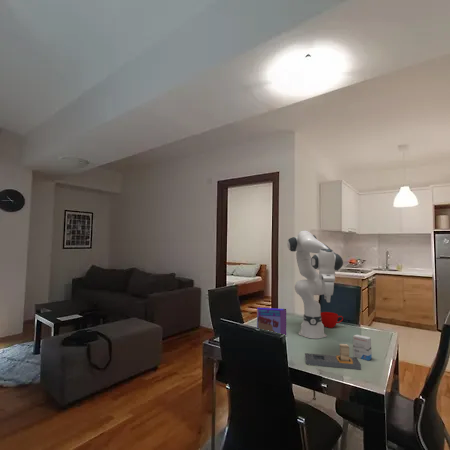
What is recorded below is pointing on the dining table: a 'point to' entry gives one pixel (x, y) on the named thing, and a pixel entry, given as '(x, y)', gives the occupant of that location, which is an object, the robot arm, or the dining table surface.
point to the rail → (332, 361)
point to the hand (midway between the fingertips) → (327, 300)
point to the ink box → (362, 347)
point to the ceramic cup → (329, 319)
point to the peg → (344, 352)
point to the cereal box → (272, 319)
